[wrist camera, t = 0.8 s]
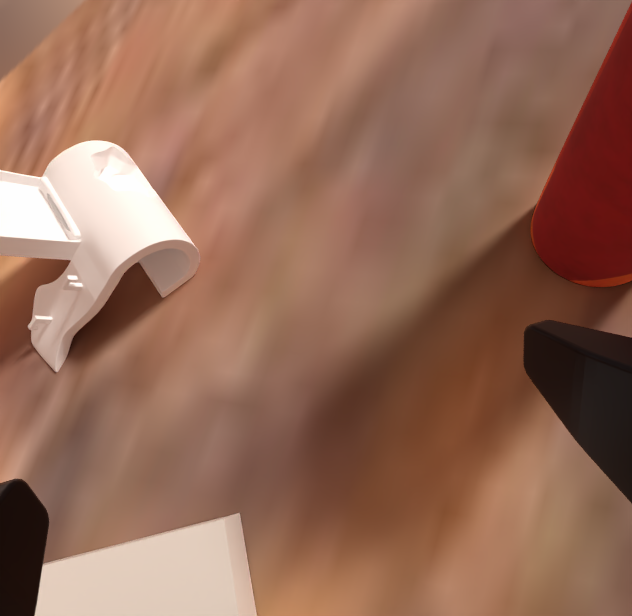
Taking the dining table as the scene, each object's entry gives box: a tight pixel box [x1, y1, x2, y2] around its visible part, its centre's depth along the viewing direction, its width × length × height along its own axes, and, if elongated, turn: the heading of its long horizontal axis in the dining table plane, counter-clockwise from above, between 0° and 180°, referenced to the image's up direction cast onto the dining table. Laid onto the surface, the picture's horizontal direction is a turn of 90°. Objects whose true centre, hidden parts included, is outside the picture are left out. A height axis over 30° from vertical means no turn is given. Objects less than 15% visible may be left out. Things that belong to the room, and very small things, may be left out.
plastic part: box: [0, 141, 200, 372], centre depth 19 cm, size 8×10×12 cm
